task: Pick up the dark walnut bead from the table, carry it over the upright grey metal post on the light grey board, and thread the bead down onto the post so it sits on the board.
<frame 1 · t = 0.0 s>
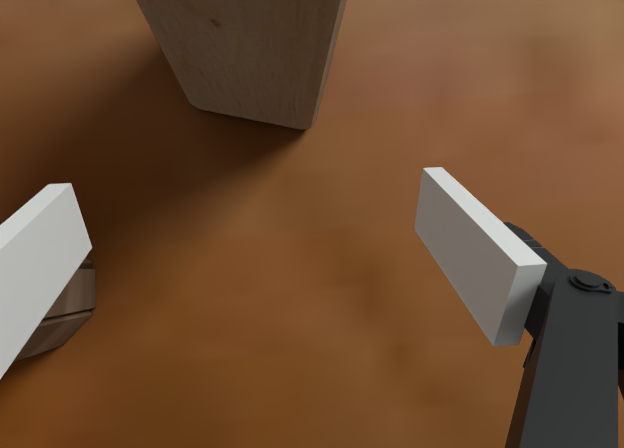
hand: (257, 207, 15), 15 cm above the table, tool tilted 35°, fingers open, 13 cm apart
wooden block: (262, 67, 32), on the table
walnut bead: (37, 292, 28), on the table
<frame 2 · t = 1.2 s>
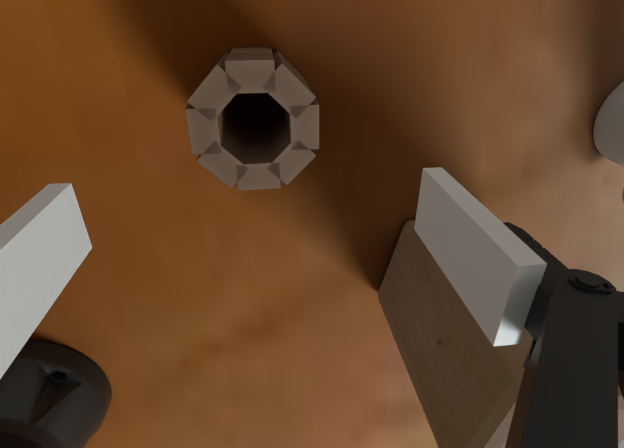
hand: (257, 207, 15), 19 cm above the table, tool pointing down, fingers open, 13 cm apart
wooden block: (430, 262, 41), on the table
walnut bead: (256, 102, 31), on the table
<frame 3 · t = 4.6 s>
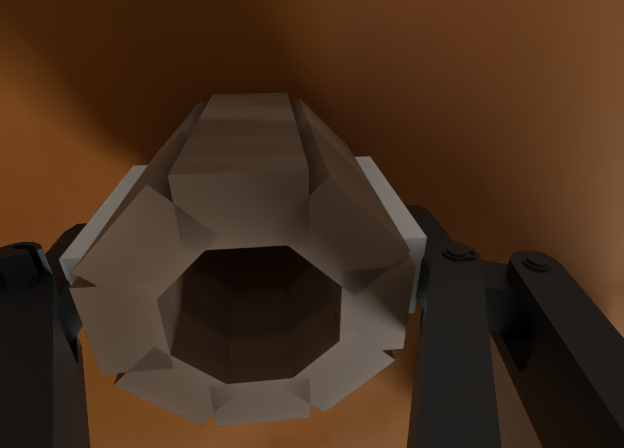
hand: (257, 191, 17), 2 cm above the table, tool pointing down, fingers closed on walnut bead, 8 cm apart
wooden block: (517, 377, 28), on the table
walnut bead: (257, 190, 17), point 2 cm above the table, touching gripper
when the fingers open (3 cm above the table, at t = 11.4 s): walnut bead drops 1 cm, resting on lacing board.
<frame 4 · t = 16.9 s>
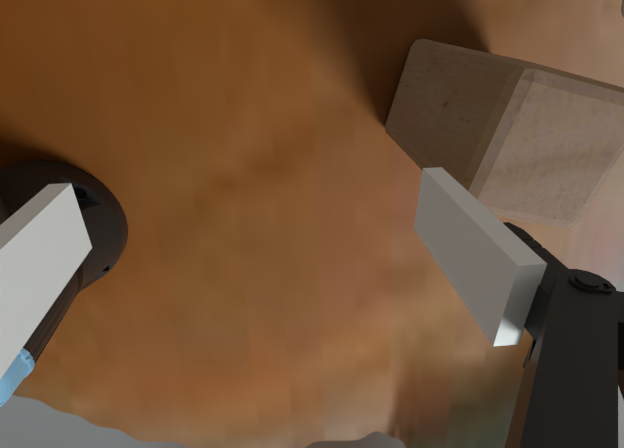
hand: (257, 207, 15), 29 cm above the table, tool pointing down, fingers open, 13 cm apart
wooden block: (436, 95, 43), on the table
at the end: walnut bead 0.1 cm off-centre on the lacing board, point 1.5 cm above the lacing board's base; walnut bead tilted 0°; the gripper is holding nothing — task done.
